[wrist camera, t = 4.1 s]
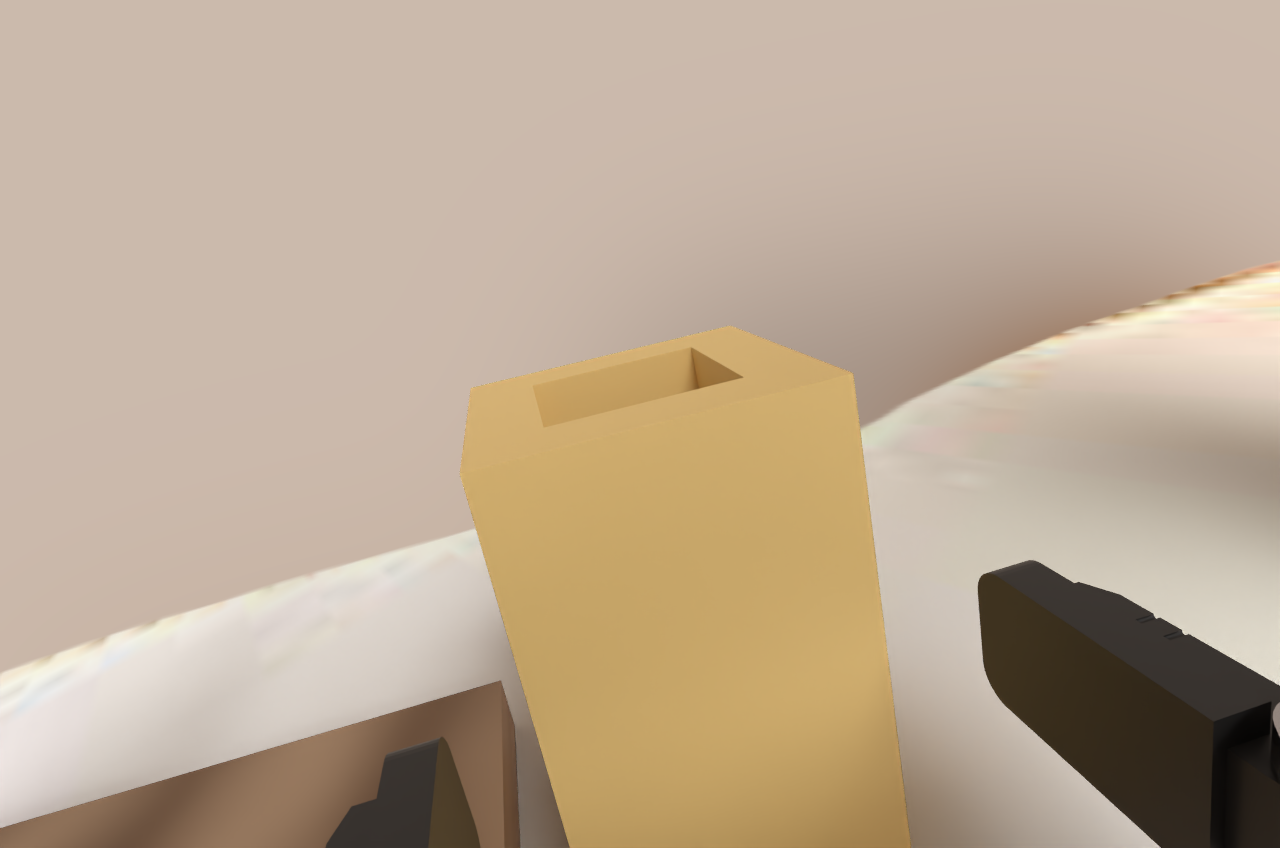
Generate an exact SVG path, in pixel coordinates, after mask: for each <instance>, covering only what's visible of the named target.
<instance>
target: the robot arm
mask: <svg viewBox="0 0 1280 848" xmlns="http://www.w3.org/2000/svg"><path fill="white" fill-rule="evenodd" d="M978 599H979V612H980V625H981V639H982V652H983V663H984V668H985V672H986V675H987V677H988V680H989V682H990V684H991V686H992V688H993V690H994V691H995V693H996V695H997V696H998V697H999V699H1000V700H1001V701H1002V703H1003V704H1004V705H1005V706H1006V707H1007V708H1008V709H1010V710H1011V711H1012V712H1013V713H1014V714H1015V715H1016V716H1017V717H1018V718H1019V719H1021V720H1022V721H1023V722H1024V723H1025V724H1026V725H1027V726H1028V727H1029V728H1030V729H1031V730H1033V731H1034V732H1035V733H1036V734H1037V735H1038V736H1039V737H1040V738H1041V739H1042V740H1044V741H1045V742H1046V743H1047V744H1048V745H1049V746H1050V747H1051V748H1052V749H1053V750H1055V751H1056V752H1057V753H1058V754H1059V755H1060V756H1061V757H1062V758H1063V759H1064V760H1065V761H1067V762H1068V763H1069V764H1070V765H1071V766H1072V767H1073V768H1074V769H1075V770H1076V771H1078V772H1079V773H1080V774H1081V775H1082V776H1083V777H1084V778H1085V779H1086V780H1087V781H1089V782H1090V783H1091V784H1092V785H1093V786H1094V787H1095V788H1096V789H1097V790H1098V791H1100V792H1101V793H1102V794H1103V795H1104V796H1105V797H1106V798H1107V799H1108V800H1109V801H1110V802H1112V803H1113V804H1114V805H1115V806H1116V807H1117V808H1118V809H1119V810H1120V811H1121V812H1123V813H1124V814H1125V815H1126V816H1127V817H1128V818H1129V819H1130V820H1131V821H1132V822H1134V823H1135V824H1136V825H1137V826H1138V827H1139V828H1140V829H1141V830H1142V831H1143V832H1144V833H1146V834H1147V835H1148V836H1149V837H1150V838H1151V839H1152V840H1153V841H1154V842H1155V843H1157V844H1158V845H1159V846H1160V847H1161V848H1280V686H1279V685H1277V684H1275V683H1274V682H1272V681H1270V680H1268V679H1267V678H1265V677H1263V676H1261V675H1260V674H1258V673H1256V672H1254V671H1253V670H1251V669H1249V668H1247V667H1246V666H1244V665H1242V664H1240V663H1239V662H1237V661H1235V660H1233V659H1232V658H1230V657H1228V656H1226V655H1225V654H1223V653H1221V652H1219V651H1218V650H1216V649H1214V648H1212V647H1211V646H1209V645H1207V644H1205V643H1204V642H1202V641H1200V640H1198V639H1197V638H1195V637H1193V636H1191V635H1190V634H1188V635H1184V634H1183V633H1182V630H1181V629H1179V628H1177V627H1176V626H1174V625H1172V624H1170V623H1169V622H1167V621H1165V620H1163V619H1162V618H1158V619H1156V618H1155V617H1154V615H1153V613H1151V612H1149V611H1148V610H1146V609H1144V608H1142V607H1141V606H1139V605H1137V604H1135V603H1134V602H1132V601H1130V600H1128V599H1127V598H1125V597H1123V596H1121V595H1119V594H1116V593H1113V592H1110V591H1106V590H1103V589H1100V588H1097V587H1093V586H1090V585H1087V584H1083V583H1080V582H1077V583H1073V582H1071V581H1070V580H1068V579H1066V578H1065V577H1063V576H1061V575H1059V574H1058V573H1056V572H1054V571H1053V570H1051V569H1049V568H1048V567H1046V566H1044V565H1043V564H1041V563H1039V562H1037V561H1033V560H1029V561H1025V562H1022V563H1019V564H1015V565H1012V566H1009V567H1006V568H1002V569H999V570H996V571H992V572H989V573H986V574H983V575H982V576H981V577H980V579H979V582H978ZM325 848H480V842H479V837H478V833H477V829H476V825H475V822H474V819H473V816H472V813H471V810H470V807H469V804H468V801H467V798H466V795H465V792H464V789H463V786H462V783H461V780H460V777H459V774H458V771H457V768H456V765H455V762H454V759H453V756H452V753H451V750H450V748H449V745H448V743H447V741H446V740H445V738H444V737H440V738H436V739H433V740H430V741H426V742H423V743H420V744H417V745H413V746H410V747H407V748H403V749H400V750H397V751H393V752H390V753H388V754H387V755H386V756H385V759H384V763H383V768H382V773H381V778H380V783H379V788H378V793H377V798H376V799H374V800H370V801H367V802H364V803H361V804H358V805H354V806H351V808H350V809H349V811H348V812H347V814H346V815H345V817H344V818H343V820H342V821H341V823H340V824H339V826H338V827H337V829H336V830H335V832H334V833H333V835H332V836H331V838H330V839H329V841H328V842H327V844H326V847H325Z"/></svg>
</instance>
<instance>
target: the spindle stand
mask: <svg viewBox="0 0 1280 848" xmlns="http://www.w3.org/2000/svg"><path fill="white" fill-rule="evenodd" d="M440 737H444V738H445V740H446V741H447V743H448V745H449V748H450V750H451V753H452V756H453V759H454V762H455V765H456V768H457V771H458V774H459V777H460V780H461V783H462V786H463V789H464V792H465V795H466V798H467V801H468V804H469V807H470V810H471V813H472V816H473V819H474V822H475V825H476V829H477V833H478V837H479V842H480V848H520V832H519V811H518V790H517V769H516V748H515V726H514V722H513V719H512V716H511V712H510V709H509V706H508V702H507V699H506V696H505V693H504V689H503V686H502V683H501V681H498V682H494V683H491V684H488V685H484V686H481V687H477V688H474V689H471V690H467V691H464V692H461V693H457V694H454V695H450V696H447V697H444V698H440V699H437V700H433V701H430V702H427V703H423V704H420V705H417V706H413V707H410V708H406V709H403V710H400V711H396V712H393V713H389V714H386V715H383V716H379V717H376V718H372V719H369V720H366V721H362V722H359V723H356V724H352V725H349V726H345V727H342V728H339V729H335V730H332V731H328V732H325V733H322V734H318V735H315V736H311V737H308V738H305V739H301V740H298V741H295V742H291V743H288V744H284V745H281V746H278V747H274V748H271V749H267V750H264V751H261V752H257V753H254V754H250V755H247V756H244V757H240V758H237V759H234V760H230V761H227V762H223V763H220V764H217V765H213V766H210V767H206V768H203V769H200V770H196V771H193V772H189V773H186V774H183V775H179V776H176V777H173V778H169V779H166V780H162V781H159V782H156V783H152V784H149V785H145V786H142V787H139V788H135V789H132V790H128V791H125V792H122V793H118V794H115V795H112V796H108V797H105V798H101V799H98V800H95V801H91V802H88V803H84V804H81V805H78V806H74V807H71V808H67V809H64V810H61V811H57V812H54V813H51V814H47V815H44V816H40V817H37V818H34V819H30V820H27V821H23V822H20V823H17V824H13V825H10V826H6V827H3V828H0V848H325V847H326V844H327V842H328V841H329V839H330V838H331V836H332V835H333V833H334V832H335V830H336V829H337V827H338V826H339V824H340V823H341V821H342V820H343V818H344V817H345V815H346V814H347V812H348V811H349V809H350V808H351V806H354V805H358V804H361V803H364V802H367V801H370V800H374V799H376V798H377V793H378V788H379V783H380V778H381V773H382V768H383V763H384V759H385V756H386V755H387V754H388V753H390V752H393V751H397V750H400V749H403V748H407V747H410V746H413V745H417V744H420V743H423V742H426V741H430V740H433V739H436V738H440Z"/></svg>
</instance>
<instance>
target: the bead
mask: <svg viewBox="0 0 1280 848" xmlns="http://www.w3.org/2000/svg"><path fill="white" fill-rule="evenodd" d="M854 384H855V383H854V375H853V373H852V372H849V371H846V370H844V369H841V368H839V367H836V366H833V365H831V364H828V363H826V362H823V361H821V360H818V359H815V358H813V357H810V356H808V355H805V354H803V353H800V352H797V351H795V350H792V349H789V348H787V347H784V346H782V345H779V344H776V343H774V342H771V341H769V340H766V339H764V338H761V337H759V336H756V335H753V334H751V333H748V332H746V331H743V330H740V329H738V328H735V327H732V326H727V327H722V328H718V329H714V330H710V331H706V332H702V333H698V334H694V335H689V336H685V337H681V338H677V339H672V340H669V341H665V342H660V343H656V344H652V345H648V346H644V347H639V348H636V349H631V350H627V351H623V352H619V353H614V354H611V355H606V356H602V357H598V358H594V359H590V360H585V361H581V362H577V363H573V364H569V365H564V366H560V367H556V368H552V369H548V370H544V371H539V372H535V373H531V374H527V375H523V376H519V377H515V378H510V379H506V380H502V381H498V382H494V383H490V384H485V385H481V386H478V387H473V388H471V391H470V399H469V406H468V414H467V422H466V429H465V437H464V445H463V453H462V460H461V468H460V476H461V480H462V483H463V487H464V490H465V493H466V497H467V500H468V503H469V507H470V510H471V514H472V517H473V521H474V524H475V527H476V531H477V534H478V538H479V541H480V544H481V548H482V551H483V555H484V558H485V561H486V565H487V568H488V572H489V575H490V578H491V582H492V585H493V589H494V592H495V595H496V599H497V602H498V606H499V609H500V612H501V616H502V619H503V623H504V626H505V629H506V633H507V636H508V640H509V643H510V646H511V650H512V653H513V657H514V660H515V663H516V667H517V670H518V674H519V677H520V680H521V684H522V687H523V691H524V694H525V697H526V701H527V704H528V708H529V711H530V714H531V718H532V721H533V725H534V728H535V731H536V735H537V738H538V742H539V745H540V748H541V752H542V755H543V759H544V762H545V765H546V769H547V772H548V776H549V779H550V782H551V786H552V789H553V793H554V796H555V799H556V803H557V806H558V810H559V813H560V816H561V820H562V823H563V827H564V830H565V833H566V837H567V840H568V844H569V847H570V848H911V842H910V834H909V825H908V817H907V809H906V801H905V793H904V784H903V776H902V768H901V760H900V752H899V743H898V735H897V727H896V719H895V711H894V703H893V694H892V686H891V678H890V670H889V662H888V653H887V645H886V637H885V629H884V621H883V613H882V604H881V596H880V588H879V580H878V572H877V563H876V555H875V547H874V539H873V531H872V522H871V514H870V506H869V498H868V490H867V482H866V473H865V465H864V457H863V449H862V441H861V432H860V425H859V416H858V408H857V400H856V392H855V385H854Z"/></svg>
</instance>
